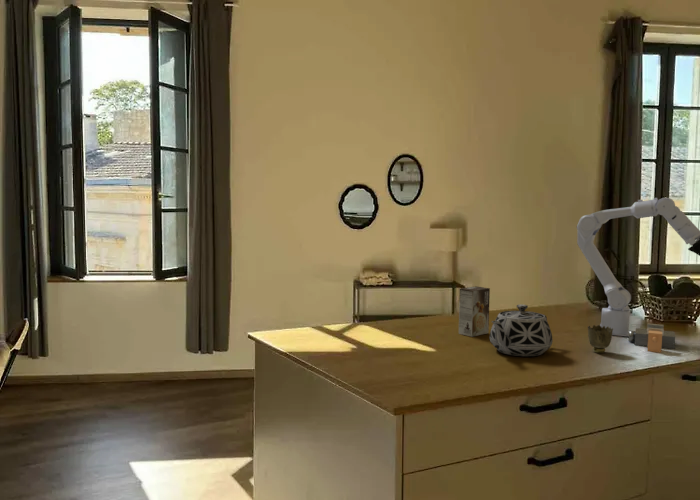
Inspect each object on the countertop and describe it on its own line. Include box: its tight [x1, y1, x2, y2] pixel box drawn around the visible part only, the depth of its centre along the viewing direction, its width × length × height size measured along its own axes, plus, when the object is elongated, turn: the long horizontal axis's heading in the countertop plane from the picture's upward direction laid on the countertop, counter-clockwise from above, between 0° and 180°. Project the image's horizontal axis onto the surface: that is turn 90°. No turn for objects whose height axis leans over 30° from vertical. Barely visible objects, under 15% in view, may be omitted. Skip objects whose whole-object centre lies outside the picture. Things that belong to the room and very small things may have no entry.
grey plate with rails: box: [628, 323, 676, 350], centre depth 235 cm, size 14×9×6 cm, turn 67°
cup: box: [587, 324, 613, 354], centre depth 222 cm, size 8×7×8 cm
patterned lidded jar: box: [489, 303, 553, 357], centre depth 220 cm, size 19×31×15 cm, turn 135°
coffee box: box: [458, 285, 491, 338], centre depth 246 cm, size 9×6×16 cm
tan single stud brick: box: [647, 330, 662, 353], centre depth 225 cm, size 4×6×6 cm
